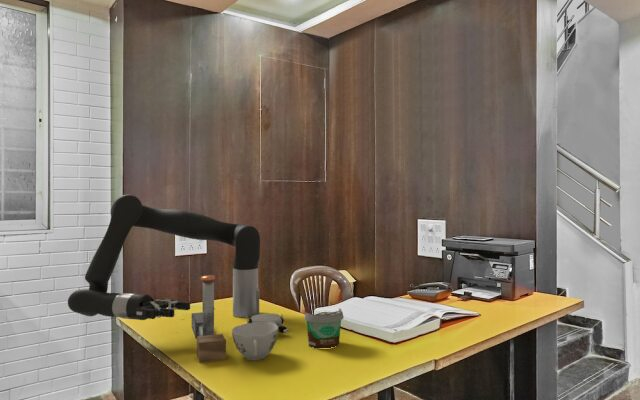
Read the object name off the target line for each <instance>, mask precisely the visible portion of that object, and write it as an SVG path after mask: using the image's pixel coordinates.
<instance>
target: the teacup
mask: <svg viewBox="0 0 640 400" xmlns="http://www.w3.org/2000/svg"><path fill="white" fill-rule="evenodd" d="M278 334H279V330H278V326H277V325H275V324H270V323H265V322H255V323H248V324H247V323H244V324H240V325H237V326H234V327H232V329H231V335H232V340H233V343H234V345H235V347H236V349H237V350H238V352H239V353H240V354H241V355H242V356H243V357H244V359H246V360H249V361H259V360H263V359H265V358H266V357H267V355H269V353H270V352H271V351H272V350H273V349H274V346H275V344H276V342H277V339H278V338H277V337H278Z"/></svg>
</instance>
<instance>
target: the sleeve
mask: <svg viewBox="0 0 640 400" xmlns="http://www.w3.org/2000/svg"><path fill="white" fill-rule="evenodd" d="M197 324H203V311H201V312H192V313H191V329H192V332H193V334H194V338H195V339H197V336H198V333H197Z"/></svg>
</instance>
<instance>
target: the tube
mask: <svg viewBox="0 0 640 400" xmlns="http://www.w3.org/2000/svg"><path fill="white" fill-rule="evenodd" d="M200 281H201V282H202V285H201V286H202V312H203V324H197V333H198V336H206V335H215V281H216V275H214V274H213V275H212V274H211V275H209V274H208V275H202V276H200Z"/></svg>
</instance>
